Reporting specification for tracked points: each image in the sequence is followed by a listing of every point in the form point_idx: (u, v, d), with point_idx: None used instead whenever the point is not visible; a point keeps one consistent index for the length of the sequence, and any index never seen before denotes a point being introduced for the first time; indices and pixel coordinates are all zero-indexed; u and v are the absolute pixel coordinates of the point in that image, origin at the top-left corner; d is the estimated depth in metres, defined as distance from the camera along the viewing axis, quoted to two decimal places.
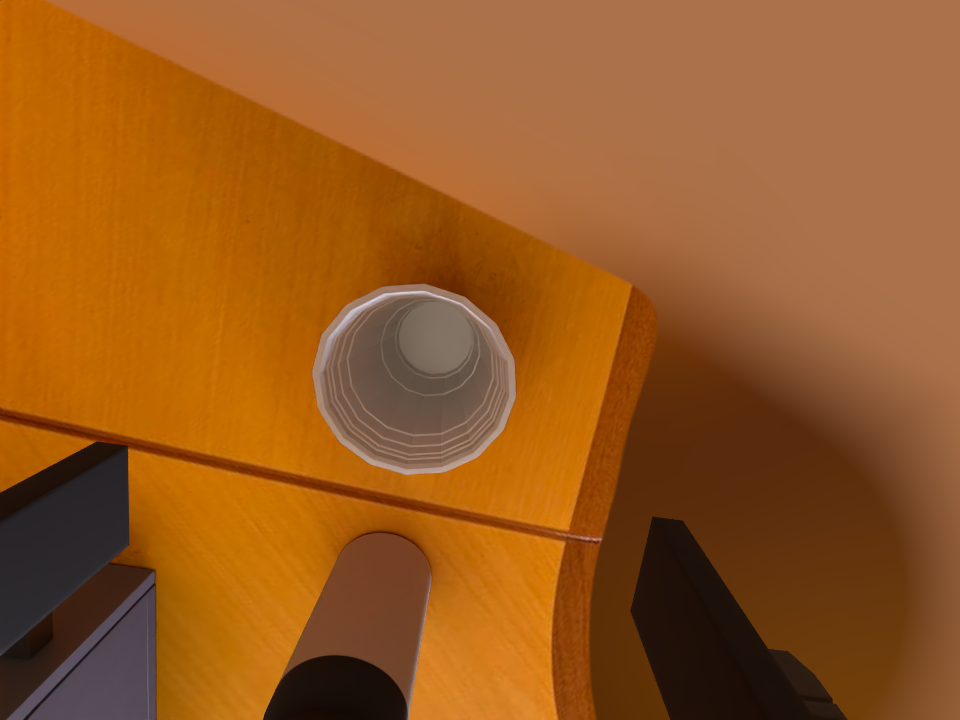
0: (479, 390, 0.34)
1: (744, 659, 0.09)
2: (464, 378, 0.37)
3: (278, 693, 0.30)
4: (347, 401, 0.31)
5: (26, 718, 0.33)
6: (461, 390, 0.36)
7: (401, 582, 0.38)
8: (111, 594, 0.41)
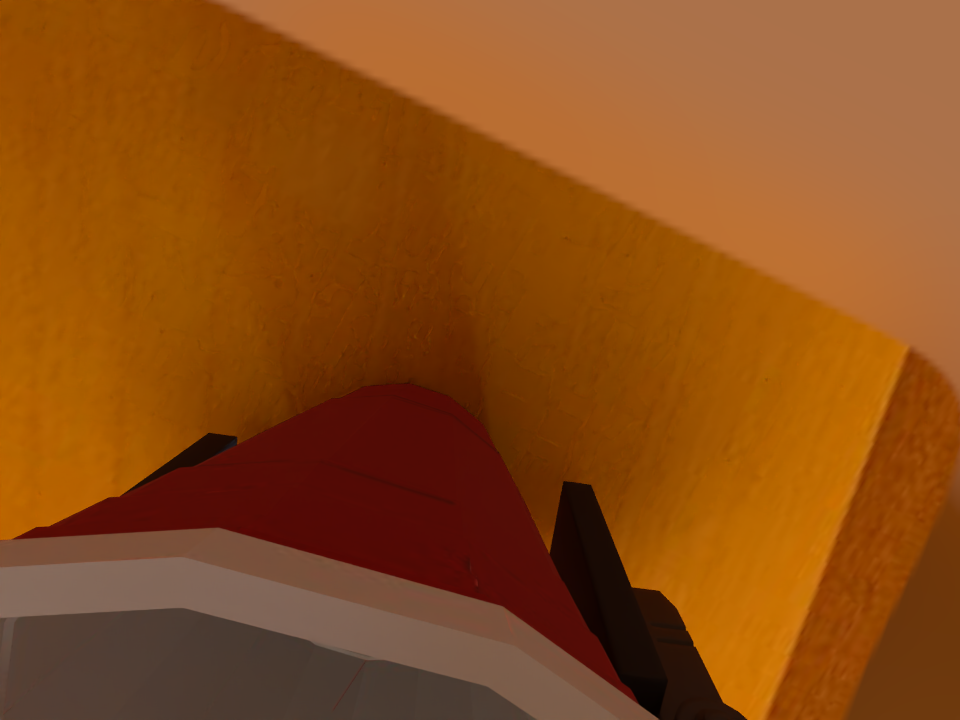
0: None
1: (605, 590, 0.10)
2: None
3: None
4: None
5: None
6: None
7: None
8: None
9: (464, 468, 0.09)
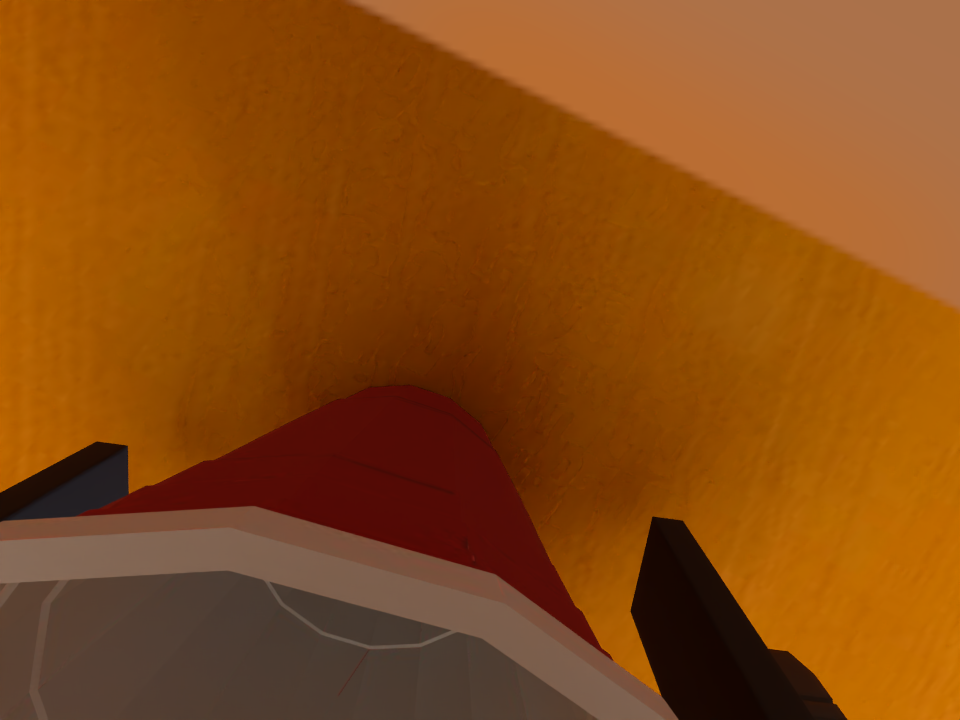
0: (525, 714, 0.11)
1: (744, 659, 0.09)
2: None
3: None
4: None
5: None
6: (466, 648, 0.13)
7: None
8: None
9: (462, 463, 0.09)
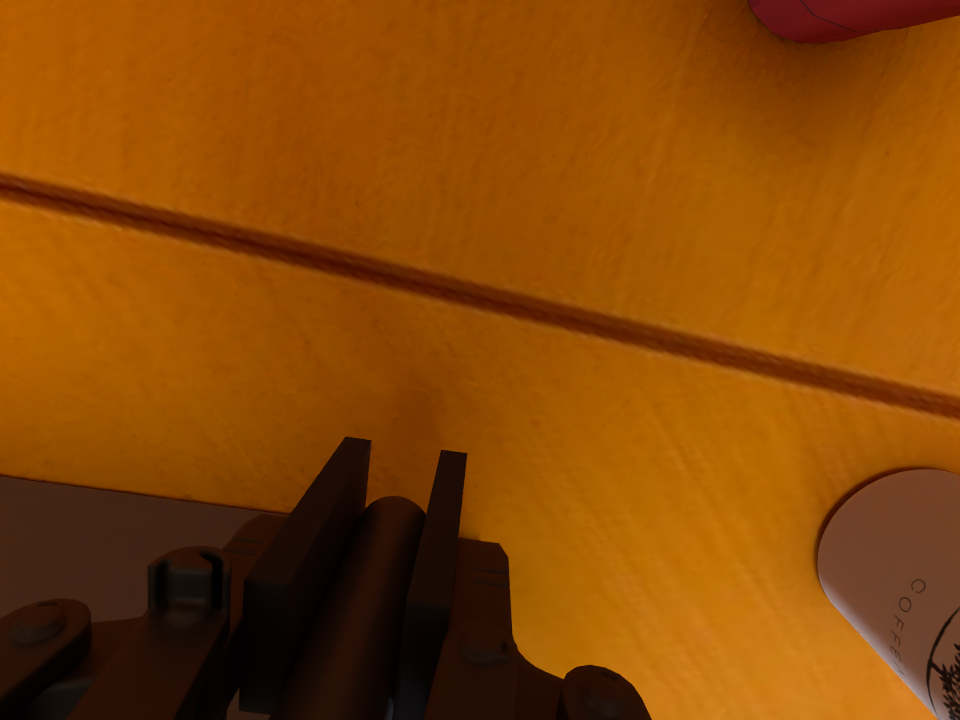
0: None
1: (431, 537, 0.11)
2: None
3: None
4: None
5: None
6: None
7: None
8: None
9: None
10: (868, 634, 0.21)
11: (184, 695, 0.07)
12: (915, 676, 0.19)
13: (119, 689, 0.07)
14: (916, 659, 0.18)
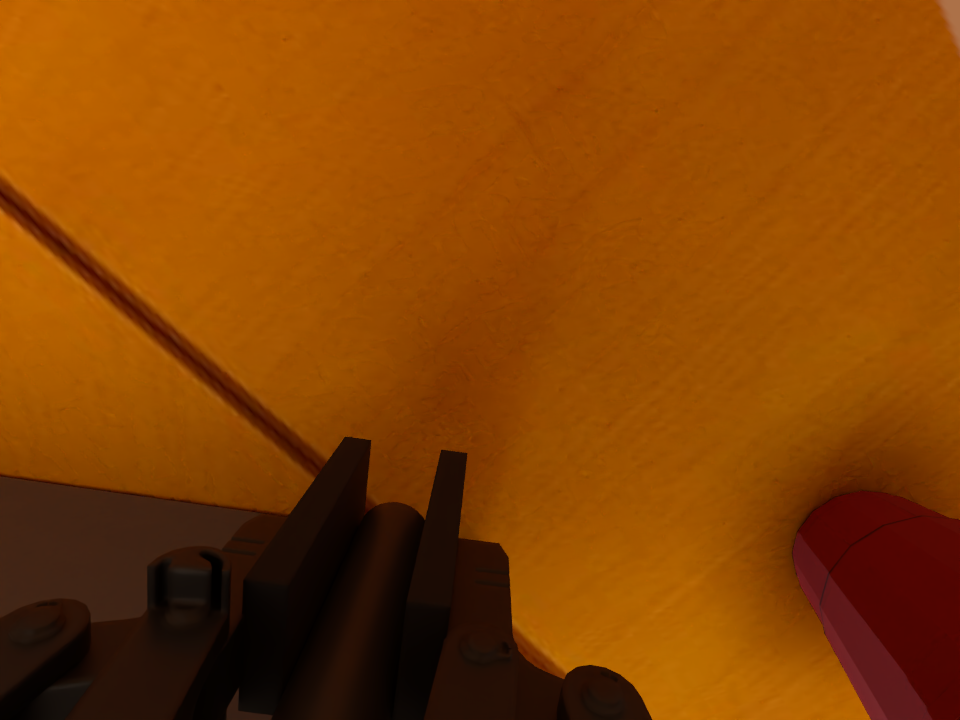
0: None
1: (431, 537, 0.11)
2: None
3: None
4: None
5: None
6: None
7: None
8: None
9: None
10: None
11: (183, 695, 0.07)
12: None
13: (118, 689, 0.07)
14: None
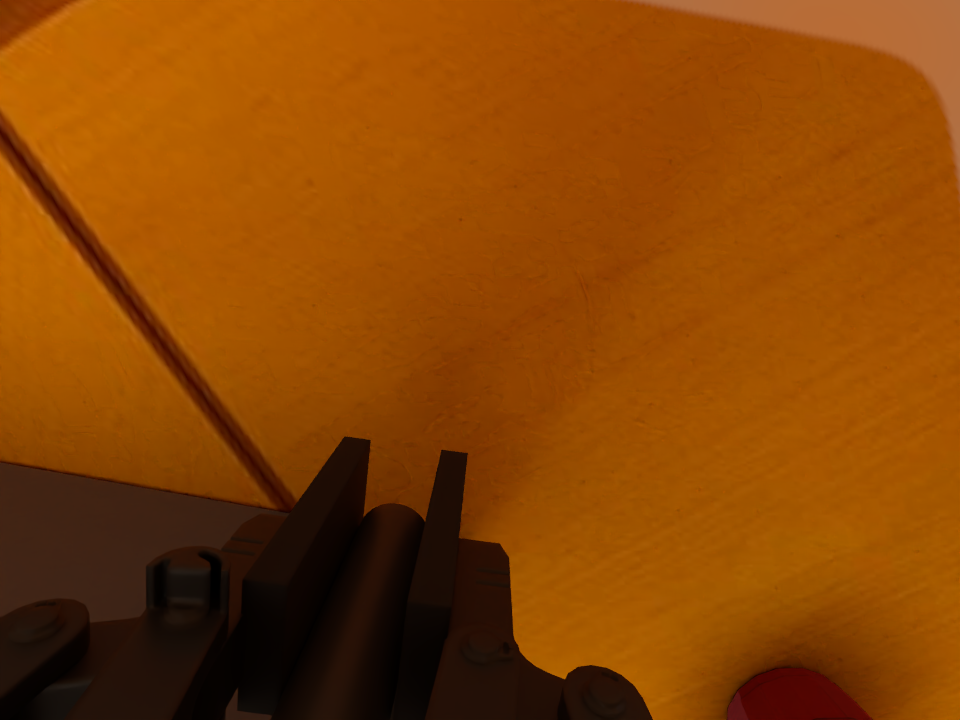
0: None
1: (431, 537, 0.11)
2: None
3: None
4: None
5: None
6: None
7: None
8: None
9: None
10: None
11: (182, 695, 0.07)
12: None
13: (117, 690, 0.07)
14: None
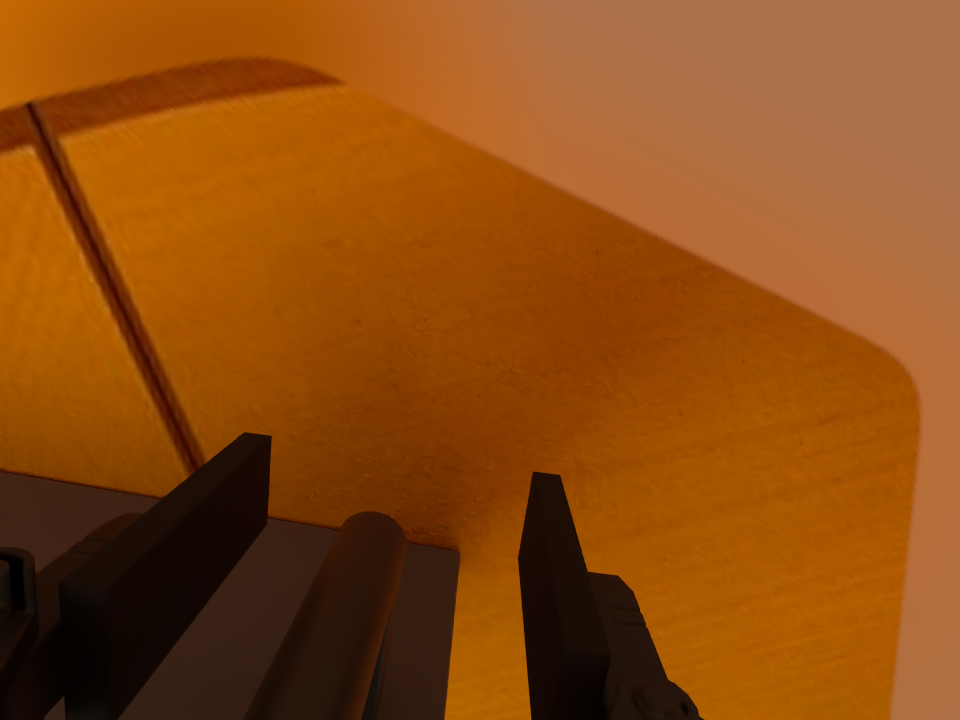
0: None
1: (560, 573, 0.10)
2: None
3: None
4: None
5: None
6: None
7: None
8: (423, 595, 0.21)
9: None
10: None
11: None
12: None
13: None
14: None
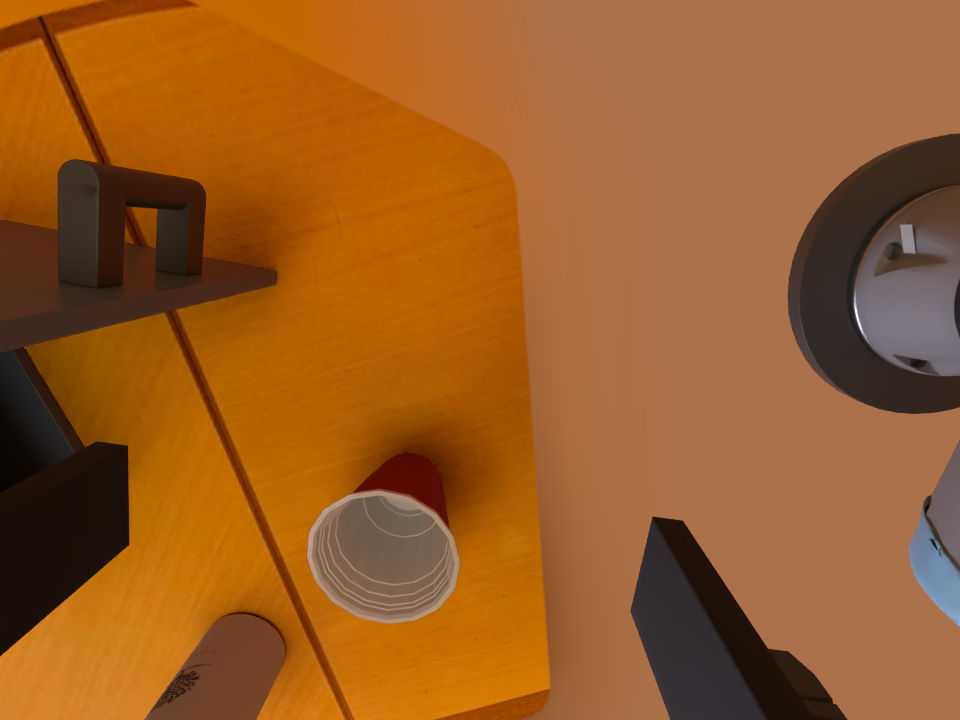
0: (398, 565, 0.43)
1: (744, 659, 0.09)
2: (395, 530, 0.47)
3: None
4: (338, 509, 0.39)
5: None
6: (387, 539, 0.46)
7: (264, 697, 0.48)
8: (243, 270, 0.41)
9: None
10: None
11: None
12: (179, 671, 0.47)
13: None
14: (184, 667, 0.47)
